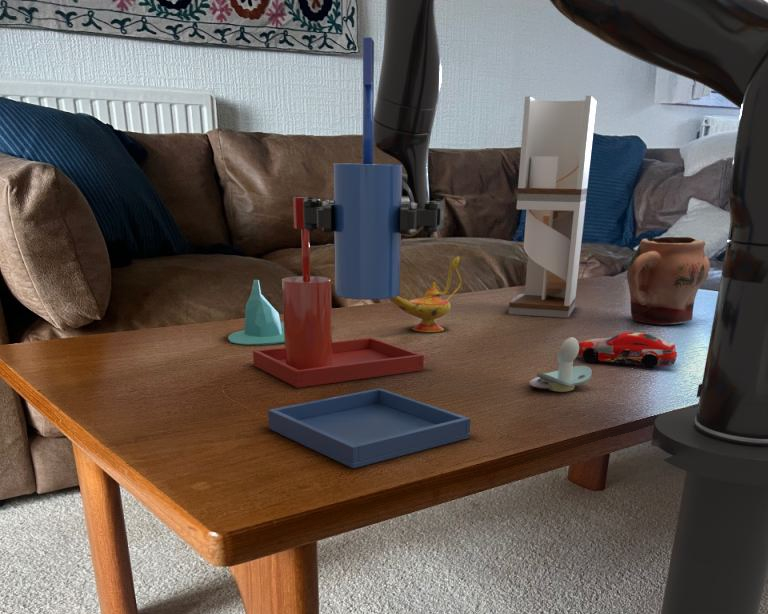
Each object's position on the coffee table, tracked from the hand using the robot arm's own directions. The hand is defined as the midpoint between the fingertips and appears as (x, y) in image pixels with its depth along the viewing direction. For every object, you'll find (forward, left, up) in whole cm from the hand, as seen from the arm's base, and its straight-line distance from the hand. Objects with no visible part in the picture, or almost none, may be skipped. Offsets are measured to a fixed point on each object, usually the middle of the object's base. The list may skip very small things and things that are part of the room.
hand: (365, 220), depth 67 cm
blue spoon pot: (+1, -2, -7) cm, 7 cm away
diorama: (+38, -39, -20) cm, 58 cm away
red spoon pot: (+20, -20, -19) cm, 35 cm away
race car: (-14, -47, -20) cm, 53 cm away
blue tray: (+1, -2, -20) cm, 20 cm away
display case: (+9, -82, -20) cm, 85 cm away
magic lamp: (+20, -53, -20) cm, 60 cm away
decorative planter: (-12, -81, -20) cm, 85 cm away
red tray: (+18, -24, -20) cm, 36 cm away
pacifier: (-10, -29, -20) cm, 37 cm away
